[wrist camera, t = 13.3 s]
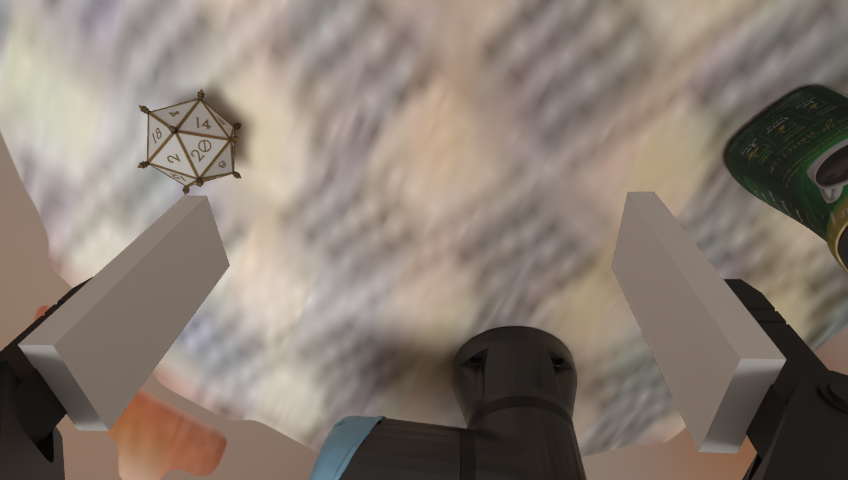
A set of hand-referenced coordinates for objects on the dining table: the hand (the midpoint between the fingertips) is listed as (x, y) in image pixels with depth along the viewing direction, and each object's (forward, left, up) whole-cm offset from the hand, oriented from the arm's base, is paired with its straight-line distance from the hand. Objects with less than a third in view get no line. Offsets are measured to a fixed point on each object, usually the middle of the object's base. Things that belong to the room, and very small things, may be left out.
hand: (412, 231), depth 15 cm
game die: (-6, +22, -29) cm, 37 cm away
